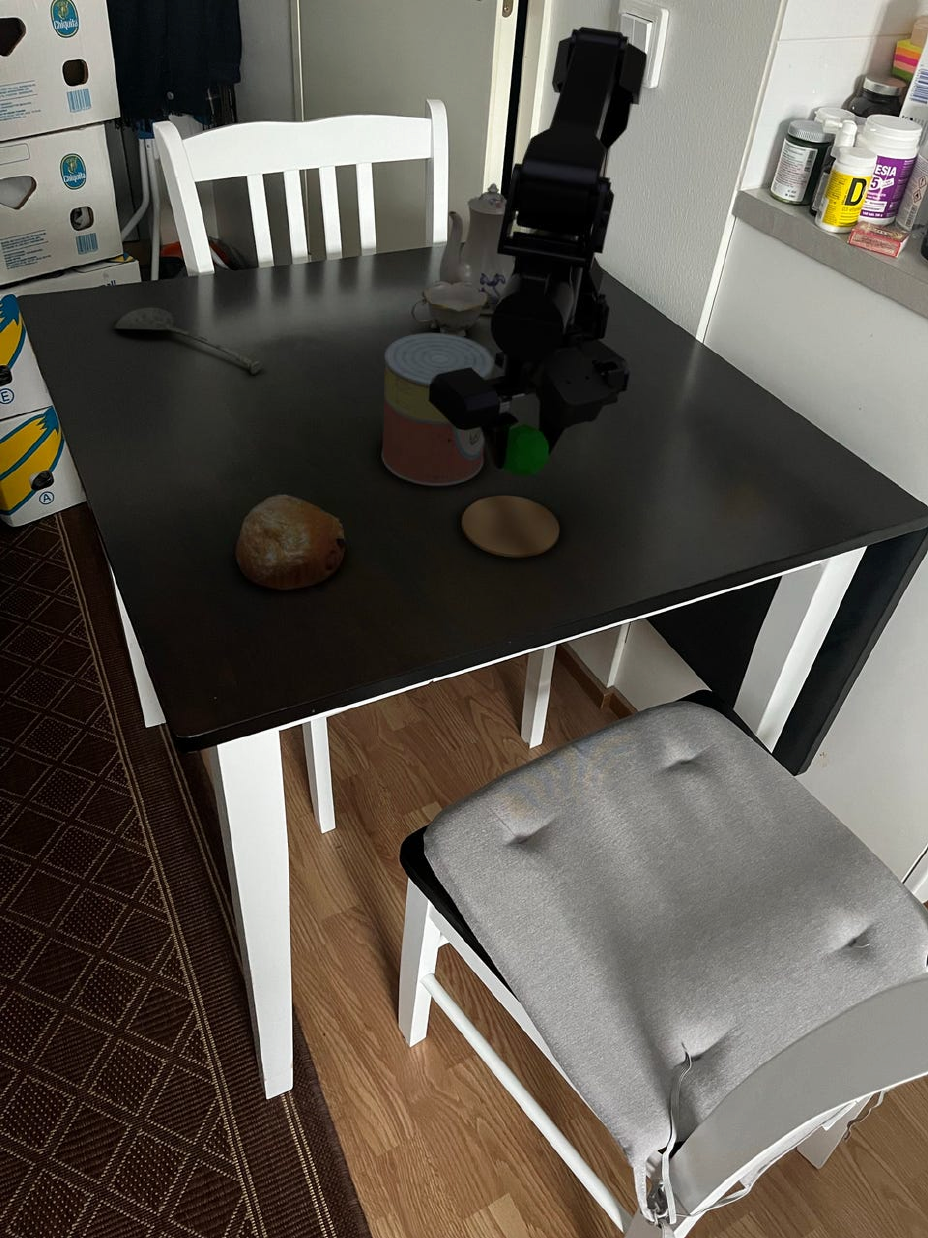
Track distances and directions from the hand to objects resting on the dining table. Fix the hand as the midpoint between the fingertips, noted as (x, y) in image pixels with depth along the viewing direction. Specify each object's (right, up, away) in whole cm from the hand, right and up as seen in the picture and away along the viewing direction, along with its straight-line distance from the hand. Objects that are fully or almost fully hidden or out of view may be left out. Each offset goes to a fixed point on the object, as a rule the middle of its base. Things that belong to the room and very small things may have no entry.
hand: (521, 460), depth 96 cm
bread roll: (-22, -10, -1) cm, 24 cm away
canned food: (-9, +2, +14) cm, 17 cm away
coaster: (-1, -6, +5) cm, 8 cm away
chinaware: (-1, +28, +42) cm, 51 cm away
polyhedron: (0, -1, +1) cm, 1 cm away
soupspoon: (-40, +18, +28) cm, 52 cm away
